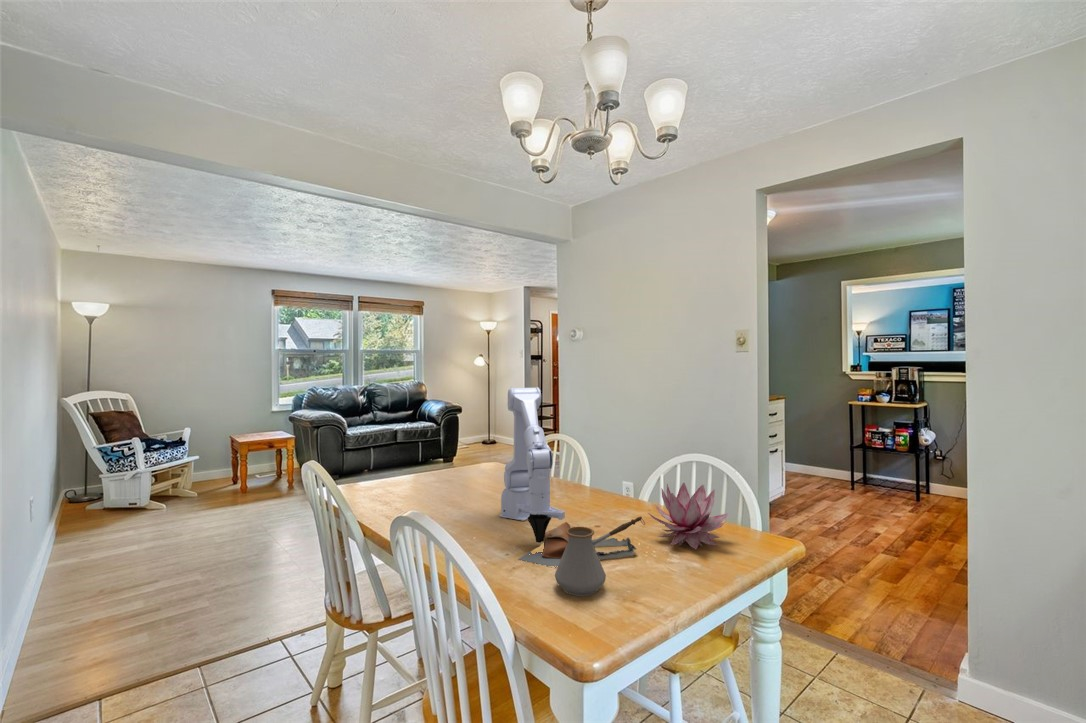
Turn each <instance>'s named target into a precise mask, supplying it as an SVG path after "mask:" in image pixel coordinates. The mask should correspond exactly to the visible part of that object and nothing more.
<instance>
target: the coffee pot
mask: <svg viewBox="0 0 1086 723" xmlns="http://www.w3.org/2000/svg"><path fill="white" fill-rule="evenodd" d="M637 522H641V524H642V525H643V526H645V525H646V522H645V521H644V519H643V517H642V516H638V517H636V518H635V519H631V520H630V521H628V522H625V523H623V524H621V525H619V526H618V527H616V528H614V529H612V530H611V531H609V532H608V533H606V534H603V535H602V536H599V537H598V538H596V539H595V540H594V539H592V538H593V536H594V534H595V531H594V530H593V529H592V528H590V527H585V526H572V527H571V528H569V529H567V530H566V534H567V535H568V538H569V541H568V543H567V546H566V548H565V551H564V553H563V555H562V558H561V560H560V563H559V565H558V567H557V568H556V570H555V574H554V577H555V581H556V583H557V585H559V587H560V588H561V589H563V591H564V590H565V591H566V592H565V591H564V592H565V593H567V592H568V593H567V594H569V593H570V594H569V595H571V594H572V595H571V596H576V595H577V596H576V597H587V596H591V595H594V594H595V593H597V591H598V590H600V589H601V588H602V587H603V585H604V584H605V581H606V578H607V576H606V575H607V574H606V572H605V570H604V567H603V565H602V562H601V559H600V560H599V558H598V555H597V551H596V547H594V545H595V544H597V543H599V542H601V541H602V540H604V539H608V538H611V537H612V536H614V535H616V534H619V533H621V532H623V531H625V530H627V529H628V528H630V527H631V526H632V525H636V523H637ZM591 539H592V540H593V541H591Z"/></svg>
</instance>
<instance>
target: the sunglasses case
mask: <svg viewBox="0 0 1086 723" xmlns="http://www.w3.org/2000/svg"><path fill="white" fill-rule="evenodd" d="M569 528H572V527H571V525H570V523H568V522H563V523H562V524H560V525H558V526H557V527H555V528H553V529H551V530H549V531H546V532H545V536H544V541H543V542H544V549H543V553H542V556H544V557H547V558H554V559H561V558H562V555H563V553H564V551H565V548H566V546H567V543H568V541H569V538H568V535H567V534H566V530H567V529H569Z"/></svg>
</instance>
